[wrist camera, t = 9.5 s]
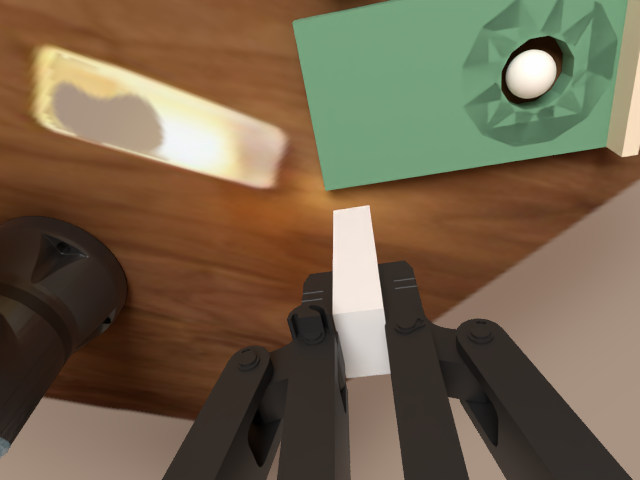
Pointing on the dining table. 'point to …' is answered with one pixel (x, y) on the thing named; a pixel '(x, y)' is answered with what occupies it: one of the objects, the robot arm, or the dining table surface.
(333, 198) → the dining table surface
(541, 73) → the ball
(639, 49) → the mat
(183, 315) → the dining table surface
